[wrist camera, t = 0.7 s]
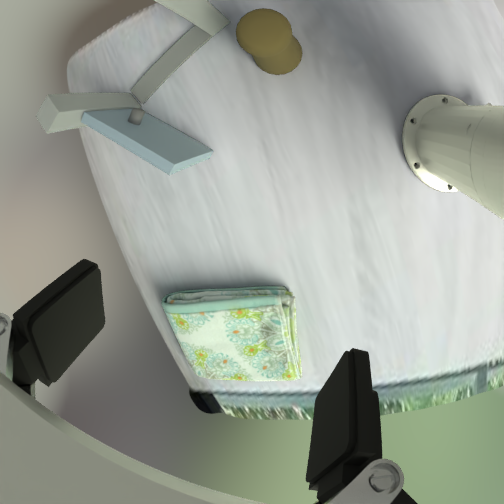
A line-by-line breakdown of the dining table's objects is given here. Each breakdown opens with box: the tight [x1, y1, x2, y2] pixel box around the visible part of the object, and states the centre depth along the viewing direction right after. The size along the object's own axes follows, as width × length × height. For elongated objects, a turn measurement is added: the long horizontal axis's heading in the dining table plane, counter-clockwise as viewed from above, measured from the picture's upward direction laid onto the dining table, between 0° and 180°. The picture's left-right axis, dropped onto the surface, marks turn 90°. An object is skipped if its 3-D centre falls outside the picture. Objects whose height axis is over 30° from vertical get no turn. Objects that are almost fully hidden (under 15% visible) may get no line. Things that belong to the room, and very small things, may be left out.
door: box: [81, 108, 213, 175], centre depth 31 cm, size 13×3×11 cm, turn 60°
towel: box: [161, 286, 302, 381], centre depth 47 cm, size 18×21×5 cm
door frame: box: [36, 0, 230, 134], centre depth 26 cm, size 20×3×16 cm, turn 130°
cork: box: [236, 8, 302, 75], centre depth 25 cm, size 6×6×11 cm
